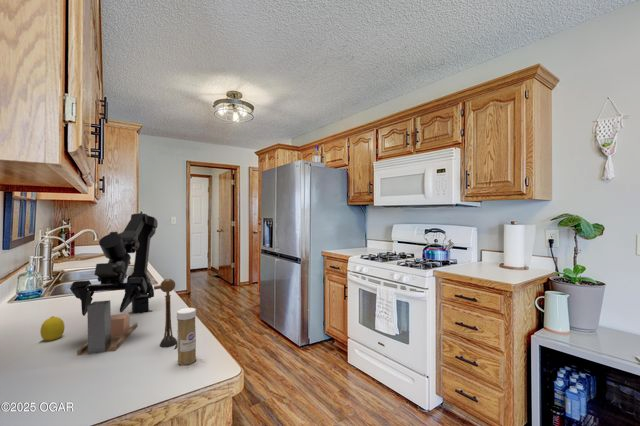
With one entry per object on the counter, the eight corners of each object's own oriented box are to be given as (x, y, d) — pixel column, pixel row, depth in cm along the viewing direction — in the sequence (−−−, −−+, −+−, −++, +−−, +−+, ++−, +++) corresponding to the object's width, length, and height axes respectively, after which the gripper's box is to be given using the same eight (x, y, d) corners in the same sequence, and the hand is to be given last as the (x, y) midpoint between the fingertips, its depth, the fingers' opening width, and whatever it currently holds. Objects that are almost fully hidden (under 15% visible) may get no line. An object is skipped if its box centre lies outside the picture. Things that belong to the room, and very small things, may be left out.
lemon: (37, 344, 92) (36, 317, 92) (59, 337, 97) (59, 312, 97) (45, 347, 89) (45, 320, 89) (68, 340, 94) (67, 314, 94)
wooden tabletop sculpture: (156, 354, 84) (155, 281, 84) (153, 348, 87) (152, 279, 87) (179, 348, 87) (178, 278, 87) (176, 343, 91) (175, 276, 91)
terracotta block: (112, 330, 99) (111, 314, 99) (129, 328, 100) (129, 313, 100) (105, 336, 94) (105, 320, 94) (123, 334, 95) (123, 318, 95)
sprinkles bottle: (187, 366, 76) (186, 313, 77) (173, 363, 78) (172, 311, 78) (200, 358, 81) (199, 308, 81) (187, 356, 82) (186, 306, 82)
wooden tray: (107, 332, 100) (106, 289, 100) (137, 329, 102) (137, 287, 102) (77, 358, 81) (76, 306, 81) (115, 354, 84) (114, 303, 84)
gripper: (73, 253, 89) (50, 301, 78) (144, 250, 94) (132, 295, 83) (86, 275, 97) (67, 322, 86) (151, 272, 101) (141, 315, 91)
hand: (102, 313), depth 86 cm, fingers open, 9 cm apart
